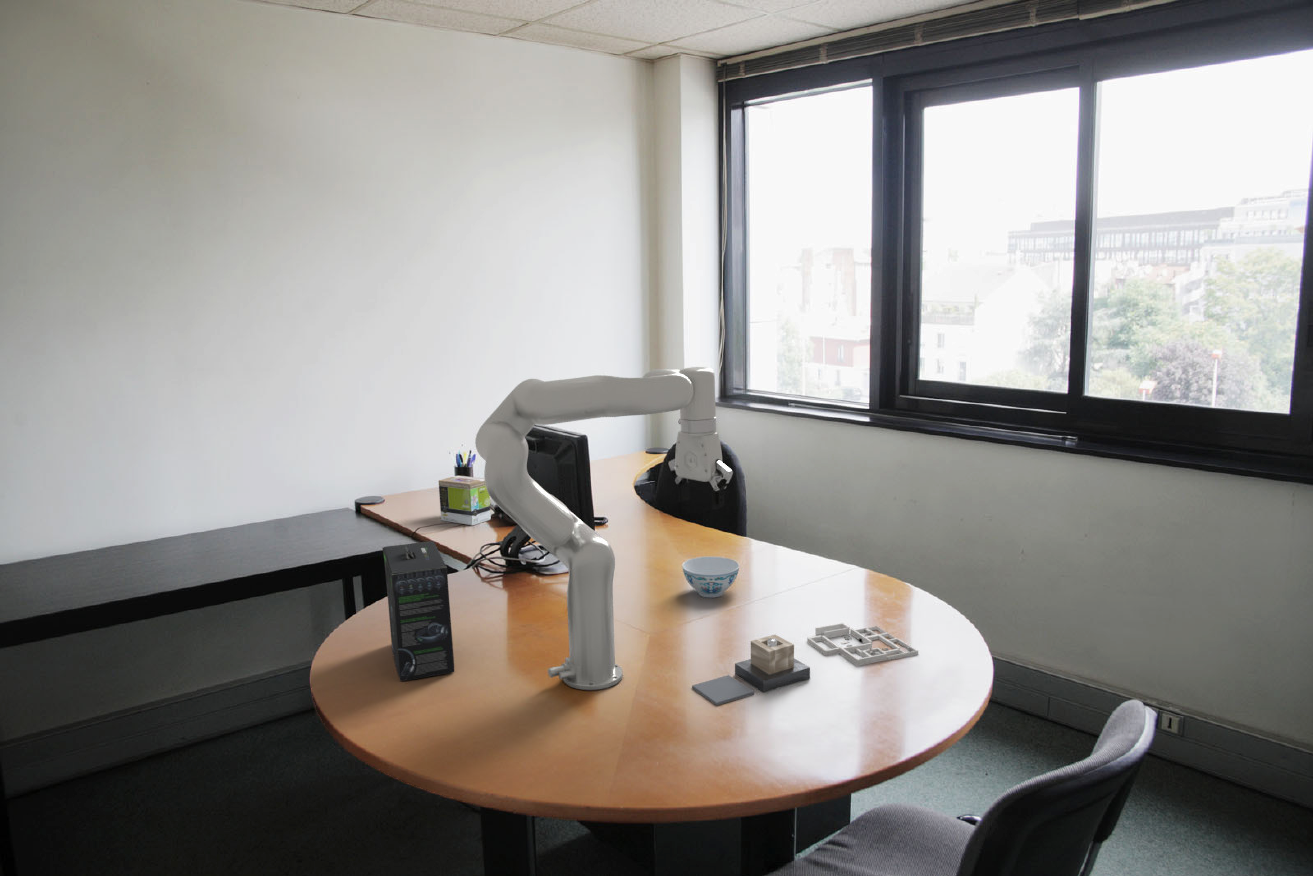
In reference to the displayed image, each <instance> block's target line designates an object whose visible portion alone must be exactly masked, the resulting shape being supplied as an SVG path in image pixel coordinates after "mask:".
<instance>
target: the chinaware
mask: <svg viewBox="0 0 1313 876" xmlns="http://www.w3.org/2000/svg"><path fill="white" fill-rule="evenodd" d="M681 566H682V567H681V568H682V573H683V576H684V578H685V579H686V581H687V583H688V584H689V585H690V586H691V587H692V588H693V589H694V590H696V591H697V593H698V595H699V596H700V597H701V596H702V597H704V598H718V597H721V596H723V595H724V593H725V591H726V590H728V589H729V588H731V586H732V585H733V584H734V582H735V580H736V579H737V576H738V574H739V571H740V563H739V562H738V561H737V560H735V559H732V558H728V557H723V556H715V555H714V556H708V555H707V556H699V557H694V558H690V559H687V560H686V561H684V562H683V563H682V564H681Z"/></svg>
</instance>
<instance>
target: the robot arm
mask: <svg viewBox="0 0 1313 876" xmlns="http://www.w3.org/2000/svg"><path fill="white" fill-rule="evenodd" d="M716 405H717V404H716V377H715V372H714V370H713V369H712V368H711V367H707V366H706V367H705V366H694V367H693V366H691V367H685V368H681V369H669V368H668V369H667V368H655V369H651V370H650V371H647V372H645V374H644V375H643V376H642V377H619V376H612V375H598V374H597V375H589V376H582V377H574V378H573V377H572V378H565V379H556V380H548V381H544V380H541V379H538V378H528V379H525V380H523V381H521V382H520V383H519V384H517V385H516V386H515V387H514V388H513V389H512V390H511V391H510V392H509V394H508V395H507V396H506V397H505V398H504V400H502V402H501V403H500V404H499V405H498V406H497V407H496V409H495V410H494V411H493V412H492V413H491V414H490V415H489V417H488V418H486V420H485V421H484V422H483V423H482V425H480V427H479V429H478V430H477V432H476V435H475V436H476V437H475V448H476V451H477V453H478V455H479V456H480V457H481V458H482V459H483V460H484V461H485V462H484V463H485V464H484V473H483V474H484V476H483V477H484V478H485V485H486V488H487V491H488V494H489V495H490V499H491V500H492V501H493V502H494V504H495V505H496V506H498V507H499V508H500V509H501V510H502V511H503V512H504V513H505V514H506V515H508V516H509V517H510V518H511V520H513V521H514V522H515V523H516V524H518V525H519V526H520V528H521V530H522V531H524V533H526V535H528V536H529V537H530V538H531V539H532V540H533V541H535V542H536V543H538V544H539V545H540V546H541V547H543V548H544V549H546V551H548V552H549V553H550V554H552V555H553V556H554V557H555V558H556V559H558V560H559V562H561V563H562V565H564V566H565V568H566V569H567V570H568V582H567V588H566V589H567V590H566V606H567V607H566V608H567V609H566V610H567V626H568V627H567V629H568V631H567V632H568V650H569V651H568V652H569V653H568V654H569V655H568V657H565V658H564V662H563V663H561V665H558V666H552V667H548V669H547V674H548V676H549V678H555V677H558V678H559V679H560V680H563V682H564V683H565V684H566V685H568V687H571V688H574V689H577V690H583V691H584V690H585V691H596V690H602V689H603V690H604V689H607V688H610V687H613V686H615V685H616V684H618V683H619V682H621V680H622V679H623V677H624V675H623V672H624V671H623V669H622V667H621V666H620V665H619V664H617V663H616V654H615V653H616V652H615V649H616V648H615V624H614V623H615V621H614V620H615V619H614V595H613V593H614V587H613V586H614V574H615V570H616V569H615V567H616V558H615V553H614V550H613V548H612V545H611V544H610V542H609V541H608V540H607V539H605V537H604V536H602V535H601V534H599V533H598V532H597V531H595V530H594V529H592V528H591V527H590V526H589V525H588V524H586V523H585V522H584V521H582V520H581V519H580V518H579V517H578V516H577V515H576V514H574V512H572V511H571V510H570V509H569V508H568V507H567V505H566V504H564V503H563V502H562V501H561V500H559V499H558V498H557V497H555V496H554V495H553V494H550V493H549V492H548V491H547V490H545V489H544V488H543V487H542V486H541V485H540V484H539V483H538V482H537V481H535V480H534V479H533V478H532V477H531V476H530V475H529V472H528V468H527V467H528V466H527V465H528V464H527V463H528V459H529V458H528V457H529V444H528V441H527V439H526V436H527V435H528V434H529V433H530V431H532V429H533V428H534V426H535V425H539V426H548V425H555V424H556V425H557V424H563V423H564V424H565V423H570V422H577V421H584V420H591V419H599V418H618V417H629V416H644V415H655V414H656V415H657V414H662V413H667V412H668V413H669V412H670V413H671V412H676V411H679V415H680V418H678V425H680V431H678V432H677V437H676V445H675V455H674V456H675V458H673V459H671V460H669V461H668V467H669V469H670V471H671V475H672V477H673V479H675V480H674V482H675V484H676V485H677V499H678V502H679V503H683V502H685V501H689V500H691V484H690V483H691V482H690V481H688V480H692V481H698V482H704V483H705V482H707V483H708V482H709V484H710V485H711V487H712V488H713V489H712V490H711V508H712V509H714V510H717V509H721V508H723V507H724V506H725V489H726V488H727V486H728V485H729V484H730V483H731V480H732V477H733V474H734V471H733V470H732V469H731V468H730V467H729V466H727V465H726V464H725V463H723V454H722V446H721V439H720V435H719V432H717V414H716V413H717V412H716V410H717V409H716Z"/></svg>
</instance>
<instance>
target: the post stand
mask: <svg viewBox="0 0 1313 876" xmlns="http://www.w3.org/2000/svg"><path fill="white" fill-rule="evenodd" d="M767 646H769V647H774V646H777V639H774V638H770V639H768V640H767ZM734 675H735V676H737V678H740V679H741V680H742V681H744V682H745V683H748V684H749V685H750V686H752V687H754V688H755V689H756V690H759V691H760V692H762V693H764V694H765V693H767V692H771V691H773V690H777V689H779V688H780V689H781V688H783V687H786V686H787V687H788V686H791V685H794V684H797V683H800V682H804V681H806V680H811V666H809V665H806V664H805V663H803V662H801V661H799V660H798V659H796V658H794V667H793V668H790V669H787V670H783V671H780V672H776V673H773V674H770V675H769V674H767V673H766V672H764V671H762V670H761V669H759V668H757V667H756V666H754V665H752V664H751V658H750V659H746V660H743V661H738V662H736V663H734Z"/></svg>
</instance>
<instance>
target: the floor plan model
mask: <svg viewBox="0 0 1313 876" xmlns="http://www.w3.org/2000/svg"><path fill="white" fill-rule="evenodd" d="M876 630H877V631H878V632H879V631H880V632H879V633H876V632H875V631H876ZM881 632H882V633H881ZM862 633H864V634H865V635H863V634H862ZM847 635H848V636H847ZM850 635H851V636H852V637H850ZM842 636H844V637H843V639H845V640H847V641H843V642H840V644H841V645H844V644H845V645H846V644H847V645H846V646H845V647H842V646H839V645H837V644H836V643H835V642H833V641H832V640H831V639H830V638H835V637H836V638H837V637H842ZM887 636H888V637H887ZM853 637H854V638H855V639H857V640H858V642H860V643H861V644H856V645H853V644H849V643H850V642H849V640H853ZM887 638H889V639H887ZM874 640H875V641H876V640H879V641H881V642H883V643H884V644H886V645H887V646H889V647H890V646H891V647H890V648H892V649H889V648H888V647H887V648H886V647H884V648H882V649H881V648H879V647H875V648H874V647H873V641H874ZM820 641H821V642H823V643H825V644H826V645H827V646H829V647H830V648H829V649H828V648H827V649H826V648H824V647H823V646H822V645H820V644H818V643H817V642H820ZM806 642H807V643H808V644H809V645H811V646H812V647H813V648H815V649H816V650H817V651H819V652H820V653H822V654H823V655H825V656H830V655H835V654H840V655H841V656H843V657H844V658H845V659H847V660H848V661H850V662H851V663H853V665H855V666H856V667H857V666H863V665H867V664H872V663H878V662H884V661H891V659H892V660H896V659H900V658H906V656H907V657H911V655H912V656H916V655H919V650H918V649H916V648H915V647H913V646H911V645H909V643H906V642H905V641H903V640H902V639H900V638H898V637H895V636H894V635H892V634H890V633H888V632H887V631H885V630H884V629H882V628H880V627H879V626H877V625H876V626H869V627H865V628H859V629H858V628H857V629H854V628H850V626H849V625H848V624H845V623H844V622H842V623H834V624H828V625H824V626H818V627H815V636H808V637H807V638H806ZM897 644H898V645H897ZM899 645H900V646H901V647H902V648H905V650H907V651H908V652H906V651H904V650H902V649H901V647H900V646H899ZM872 647H873V648H872ZM852 653H856V654H857V655H859V656H861V657H860V658H859V657H857V656H856V655H854V654H852Z"/></svg>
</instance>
